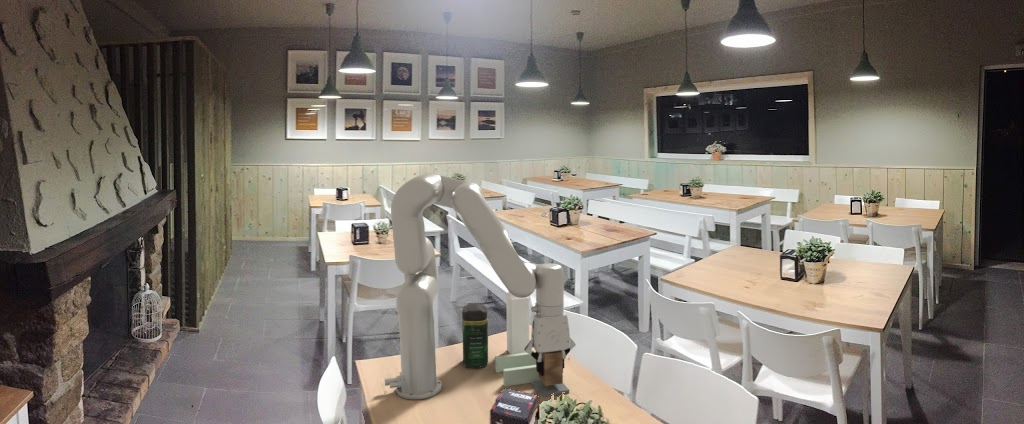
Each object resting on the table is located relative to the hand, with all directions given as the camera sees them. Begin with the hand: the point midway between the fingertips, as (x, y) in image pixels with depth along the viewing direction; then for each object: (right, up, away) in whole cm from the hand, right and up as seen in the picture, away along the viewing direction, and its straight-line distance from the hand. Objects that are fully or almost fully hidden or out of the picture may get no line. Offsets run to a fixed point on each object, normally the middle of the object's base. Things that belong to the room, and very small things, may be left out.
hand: (550, 371), depth 150 cm
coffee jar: (-22, -3, +19) cm, 29 cm away
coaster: (0, -5, +1) cm, 5 cm away
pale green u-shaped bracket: (-7, -4, +10) cm, 12 cm away
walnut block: (0, -2, 0) cm, 2 cm away
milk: (-9, -2, +27) cm, 28 cm away
